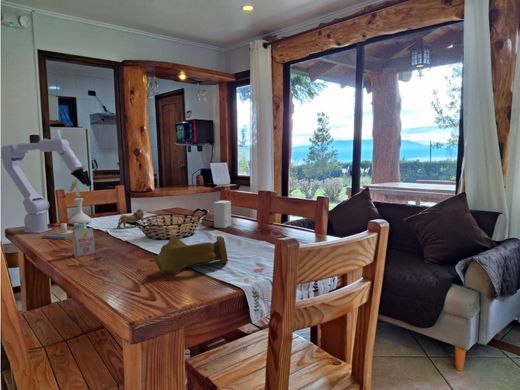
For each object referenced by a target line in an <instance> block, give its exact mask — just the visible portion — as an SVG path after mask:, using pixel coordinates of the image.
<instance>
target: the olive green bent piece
mask: <svg viewBox="0 0 520 390" xmlns="http://www.w3.org/2000/svg"><path fill="white" fill-rule="evenodd" d="M214 261H221V263H222V264H223V265H225V264H227V263H228V261H229V257H228V252H227V247H226V242H225V237H223V236H221V235H219V236H217V237H216V241H214V242H210V241H209V242H201V243H195V244H189V245H188V244H186V243H185V242H184V241H182V240H181V239H180V238H178V236H175V235H171V236H170V238H169V239H168V242H167V243H166V244H163V245H162V247H161V248H160V252H159V253H158V254H157V256H156V257H155V264H156V266H157V267H158V268H159V270H160V272H161V273H163V274H164V275H165V274H166V275H167V274H168V275H173V276H175V275H177V274H179V273H180V272H181V271H182V270H183V269H185V268H189V269H191V268H192V267H193V268H194V267H195V266H199V265H206V264H209V263H211V262H214ZM190 267H191V268H190Z"/></svg>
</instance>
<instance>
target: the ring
mask: <svg viewBox="0 0 520 390" xmlns="http://www.w3.org/2000/svg"><path fill="white" fill-rule="evenodd" d="M87 224H88V223H86V222H80V223H75V224H73V230H80V229H87V228H88V225H87Z"/></svg>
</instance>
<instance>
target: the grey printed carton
mask: <svg viewBox="0 0 520 390" xmlns="http://www.w3.org/2000/svg"><path fill="white" fill-rule="evenodd" d="M72 230H73V237H72V247H73V249H72V250H73V256H74V257H75V258H81V257H86V256H91V255H95V254H96V249H95V248H96V246H95V245H96V244H95V236H94V230H93V227H89V228H88V227H87V229H80V230H74V229H72Z"/></svg>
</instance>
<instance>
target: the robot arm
mask: <svg viewBox="0 0 520 390" xmlns="http://www.w3.org/2000/svg"><path fill="white" fill-rule="evenodd" d="M0 149H1V157H0V159H1V160H2V163H3V167H4V169H5V170H6V172H7V174H8V175H9V177H10V178H11V180H12V181H13V183H14V184H15V186H16V187H17V189H18V190H19V192H20V194H21V196H23V198H24V199H23V201H22V205H23V207H24V210H25V212H26V213H27V214H26V215H25V216H24V218H23V219H24V222H23V223H24V231H23V233H32V234H33V233H34V234H40V233H45V232H48V231H52V230H53V228H50V227H48V217H47V212H48V210H49V208H50V203H49V201H48V200H47V199H46V198H44V196H43V195H42V194H40V193H37V192H36V190H35V189H34V187H33V186H32V184H31V183H30V181H29V180H28V178H27V177H26V175H25V174H24V172H23V170H22V169H21V167H20V164H21V163H22V161H23V160H24V158H25V157H26V154H28V153H29V152H28V151H35V150H36V151H38V150H40V152H42V153H43V152H44V153H46V152H47V153H48V152H49V153H51V152H56V153H57V154H58V155H59V156H60V157H61V160H63V162H64V164H65V166H66V167H67V168H68V169H69V170H70V175H71V176H73V177H75V178H76V179H77V180H78V181H79V182H80V183H81V184H82V185H84V186H86V187H90V186H92V185H93V184H92V182H91V180H90V176H89V171H88V170H84V169H85V167H86V164H84V163H83V164H82V163H81V161H80V160H79V159H78V157H77V156H76V154H75V153H74V151H73V150H72V148H71V144H70V142H69V140H67V139H66V138H65V139H64V138H54V137H53V138H52V139H48V138H43V139H40V140H39V141H38V142H31V143H30V142H29V143H28V142H27V143H26V142H24V143H13V144H9V145H3V146H1V147H0Z"/></svg>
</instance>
